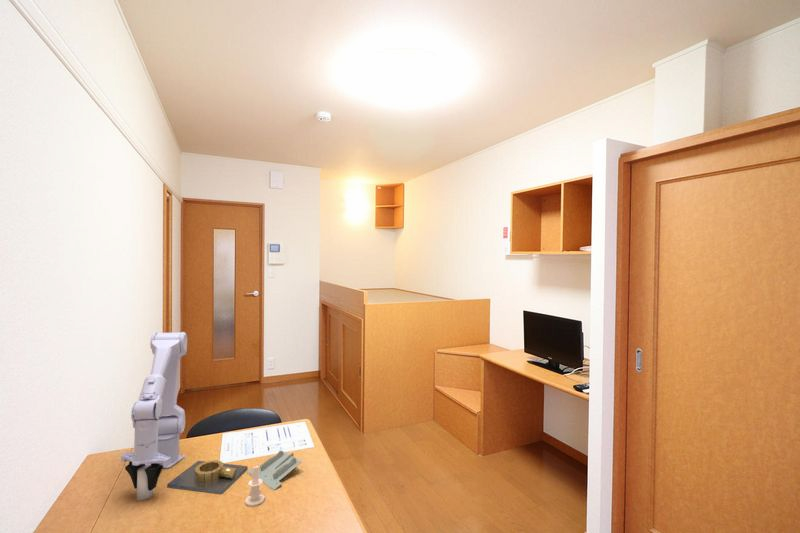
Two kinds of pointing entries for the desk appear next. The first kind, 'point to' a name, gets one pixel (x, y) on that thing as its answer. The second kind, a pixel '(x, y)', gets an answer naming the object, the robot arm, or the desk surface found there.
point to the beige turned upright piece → (255, 489)
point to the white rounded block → (143, 484)
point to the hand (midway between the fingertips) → (145, 487)
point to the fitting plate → (205, 486)
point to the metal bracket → (276, 469)
